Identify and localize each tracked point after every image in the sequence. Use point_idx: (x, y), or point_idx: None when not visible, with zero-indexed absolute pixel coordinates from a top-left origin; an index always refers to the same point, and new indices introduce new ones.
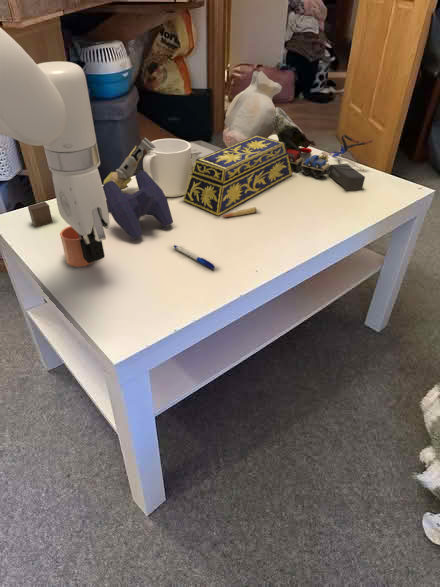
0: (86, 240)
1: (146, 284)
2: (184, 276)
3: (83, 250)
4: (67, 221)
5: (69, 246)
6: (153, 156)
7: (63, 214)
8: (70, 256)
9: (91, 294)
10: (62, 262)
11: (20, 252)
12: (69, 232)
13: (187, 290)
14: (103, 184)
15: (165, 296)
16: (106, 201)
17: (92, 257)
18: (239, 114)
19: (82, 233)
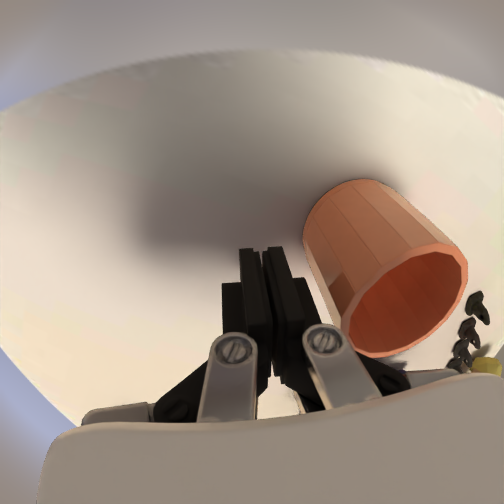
0: (208, 365)
1: (101, 323)
2: (109, 379)
3: (275, 280)
4: (371, 431)
5: (370, 237)
6: None
7: (445, 444)
8: (354, 205)
9: (107, 178)
10: (382, 166)
11: (500, 100)
12: (446, 276)
13: (61, 362)
14: (498, 364)
15: (47, 329)
16: (469, 359)
17: (227, 284)
18: None
19: (56, 447)
